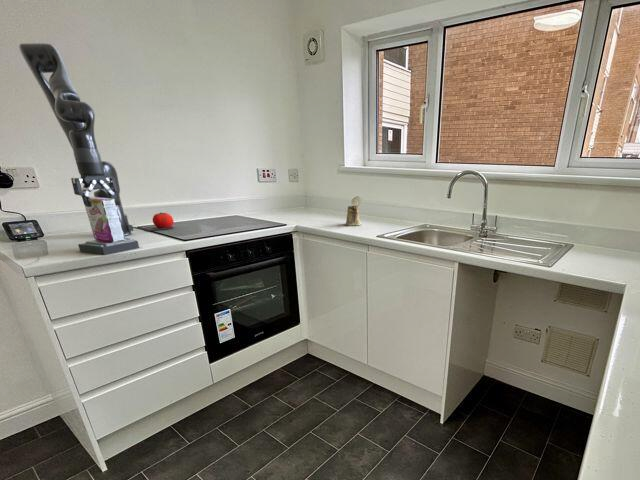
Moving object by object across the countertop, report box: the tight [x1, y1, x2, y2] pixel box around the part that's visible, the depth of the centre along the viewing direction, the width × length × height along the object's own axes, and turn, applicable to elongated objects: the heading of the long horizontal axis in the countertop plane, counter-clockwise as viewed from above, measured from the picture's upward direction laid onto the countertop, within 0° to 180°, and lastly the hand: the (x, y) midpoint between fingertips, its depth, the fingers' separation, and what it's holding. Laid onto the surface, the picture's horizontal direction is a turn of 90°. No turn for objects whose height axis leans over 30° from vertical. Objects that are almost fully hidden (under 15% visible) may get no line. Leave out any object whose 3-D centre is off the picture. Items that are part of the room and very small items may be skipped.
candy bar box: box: [84, 196, 126, 242], centre depth 139 cm, size 11×5×16 cm, turn 71°
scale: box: [77, 239, 140, 256], centre depth 142 cm, size 14×13×3 cm
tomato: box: [152, 212, 175, 229], centre depth 186 cm, size 9×10×8 cm
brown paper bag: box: [345, 196, 362, 227], centre depth 213 cm, size 9×14×18 cm, turn 27°
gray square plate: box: [85, 237, 135, 246], centre depth 142 cm, size 11×11×1 cm
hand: (101, 205), depth 137 cm, fingers open, 8 cm apart
